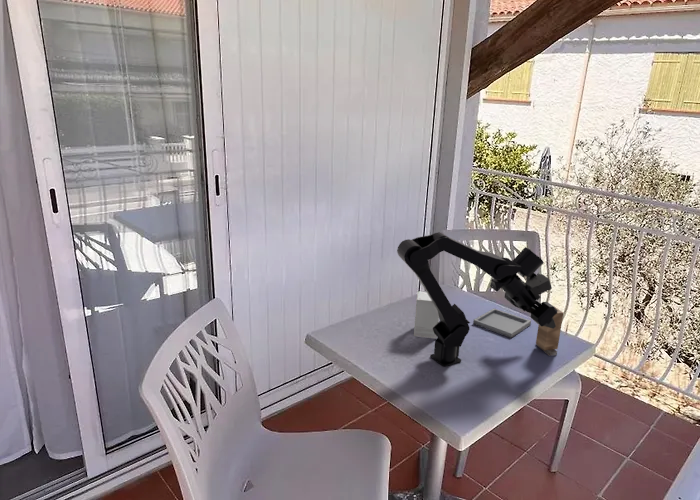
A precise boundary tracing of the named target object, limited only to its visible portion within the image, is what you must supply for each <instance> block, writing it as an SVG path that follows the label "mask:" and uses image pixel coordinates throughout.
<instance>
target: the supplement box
mask: <svg viewBox="0 0 700 500" xmlns="http://www.w3.org/2000/svg"><path fill="white" fill-rule="evenodd" d="M415 302H416V303H415V313H414V314H415V316H414V327H413V329H414V330H413V337H419V338H426V339H437V338H438V337H437V336H436V335H435V334H434V331H433V327H434V326H435V325H436V324H437V323H438V322H439V321H440V319H439V315H438V310H437V308H436V307H435V305H434V303H433V302H432V300H431V298H430V297H429V295H428V294H427V292H426V291H417V294H416V301H415Z"/></svg>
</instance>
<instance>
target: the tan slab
mask: <svg viewBox="0 0 700 500" xmlns="http://www.w3.org/2000/svg"><path fill="white" fill-rule="evenodd" d="M554 307H555V308H556V309H557V310H558V311H557V314H556V315H555V316H554V317H553V320H554V322H555V325H556V327H555V328H554V329H552V328H549V327H546V326H540V325H539V324H537V325H538V326H537V333H536V340H535V345H536V346H537V347H538V348H539V349H540V350H542V351H543V352H544V353H545V354H546V355H548V356H549V357H550V356H557V355H558V348H559V343H560V336H561V332H562V331H561V330H562V325H563V317H564V312H563V311H562V310H560V309H558V308H557V307H556V306H554Z"/></svg>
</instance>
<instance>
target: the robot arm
mask: <svg viewBox="0 0 700 500" xmlns="http://www.w3.org/2000/svg"><path fill="white" fill-rule="evenodd" d="M442 252H445V253H448V254H450V255H452V256H453V257H456V258H458V259H461V260H463V261H466V262H467V263H470V264H471V265H474V266H477V268H479V269H480V270H482V271H483V272H484V273H486V274H487V275H489V276H490V277H492V278H493V279H491V280H490V281H491V282H490V286H489V287H490V288H491V289H492V290H493V291H495V292H498V291H499V290H501V289H502V291H503V292H504V298H505V300H506V301H507V302H509V303H510V304H511V305H512V306H514V307H516V308H517V309H520V310H522V311H523V312H527V313H529V314H530V318H531V319H532V320H533V321H534V322H535V324H537V325H540V326H546V327H549V328H552V329H554V328H555V327H556V325H555V322H554V320H553V317H554V316H555V315H556V314H557V311H558V310H557V309H558V308H557V307H556V306H554V305H552V303H550V302H548V301H542V302H539V301H538V300H540V299H541V294H542V295H543V294H544V293H546V292H548V291H551V290H552V288H553V287H552V283H551V281H550V278H549V277H548V276H546V275H544V274H542V273H541V274H540V273H537V274H536V271H537V270H539V268H540V267H542V265H544V264H545V262H544V260H543V259H542V258H541V257H540V256H538V255H537V254H536V253H535V252H533V250H531V249H530V248H529V247H526V246H525V247H524V248H523V249H522V250H521V251H520V253H519V254H518V255H516V257H514V259H512V260H511V259H510V258H508V257H503V256H502V257H501V256H499V255H498V254H495V253H493V252H488V251H481V250H477V249H475V248H472V247H470V246H469V245H466V244H464V243H462V242H460V241H457V240H455V239H454V238H451V237H449V236H447V235H446V234H444V233H443V232H439V231H438V232H435V233H431V234H430V235H424V236H418V237H414V238H412V239H404V240H402V241H401V242H400V243H399V245H398V246H397V249H396V253H397V255H398V257H399V258H400V259H401V260H402V262H404V263H405V264H406V265H407V267H409V269H410V270H411V271H412V272H413V273H414V274H415V275H416V277H417V279H418V280H419V282H420V284H421V286H422V287H423V289H424V290H425V292H427V294H428V295H429V297H430V298H431V300H432V302H433V303H434V305H435V307H436V308H437V310H438V315H439V321H438V323H437V324H436V325H435V326H434V327H433V331H434V334H435V335H436V336H437V339H435V340H434V348H433V349H434V350H433V353H432V354H430V358H431V359H432V360H434V361H435V362H437V363H438V364H439V365H441V366H442V367H448V366H451V365H455V364H458V363H461V362H462V359H461V358H459V354H460V347H461V346H462V345H463V342H464V341H465V338H466V336H467V335H468V334H469V331H470V329H471V328H470V325H469V324H470V323H471V322H470V321H469V319H467V317H466V315H465V313H464V311H463V310H462V309H461V308H460V307H459V306H458V305H457V304H455V303H453V304H452V303H450V301H449V299H448V297H447V295H446V294H445V292H444V291H443V288H442V286H440V284H439V281H437V279H436V277H435V276H434V274H433V272H432V271H431V268H430V262H429V261H430V260H432V259H433V258H434V257H437V255H439V254H440V253H442ZM521 277H522V278H524V277H525V278H526V281H523V280H522V278H521ZM555 307H556V308H557V309H556V308H555Z"/></svg>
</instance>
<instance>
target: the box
mask: <svg viewBox="0 0 700 500" xmlns="http://www.w3.org/2000/svg"><path fill="white" fill-rule="evenodd" d="M472 324H473V325H475V326H477V327H481V328H483V329H486V330H488V331H492V332H494V333H496V334H499V335H502V336H503V337H504V336H505V337H507V338H510V339H512V338H514V337H515V336H517V335H518V334H520V333H521V332H522V331H524V330H525V329H527V328H528V327H530V326H531V324H532V320H530V319H527V318H524V317H521V316H519V315H516V314H512V313H509V312H506V311H503V310H500V309H498V308H492V309H490V310H488V311H487V312H485V313H483V314H481V315H480V316H477V317H476V318H474V319H473V323H472Z"/></svg>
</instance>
